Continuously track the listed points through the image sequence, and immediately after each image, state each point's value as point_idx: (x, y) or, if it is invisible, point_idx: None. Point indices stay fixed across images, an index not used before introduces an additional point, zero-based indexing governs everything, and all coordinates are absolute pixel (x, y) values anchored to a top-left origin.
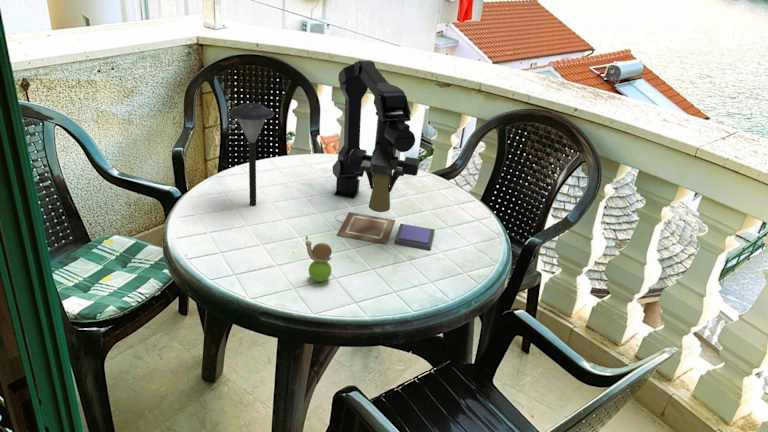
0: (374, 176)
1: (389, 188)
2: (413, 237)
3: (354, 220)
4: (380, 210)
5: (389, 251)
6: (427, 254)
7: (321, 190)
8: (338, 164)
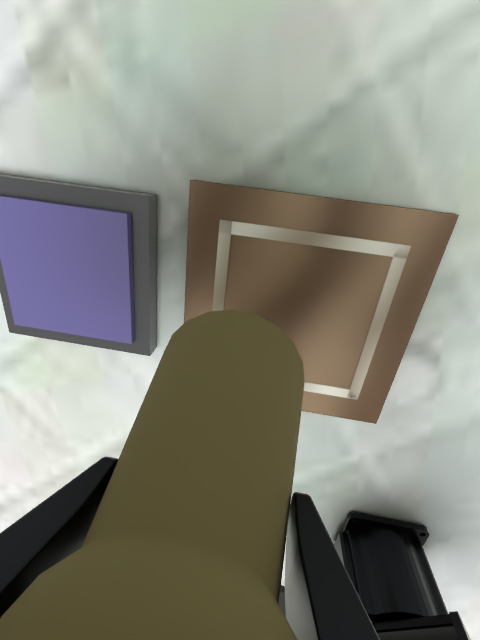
0: None
1: (88, 494)
2: (61, 231)
3: (353, 362)
4: (215, 316)
5: (167, 108)
6: None
7: (474, 549)
8: None
